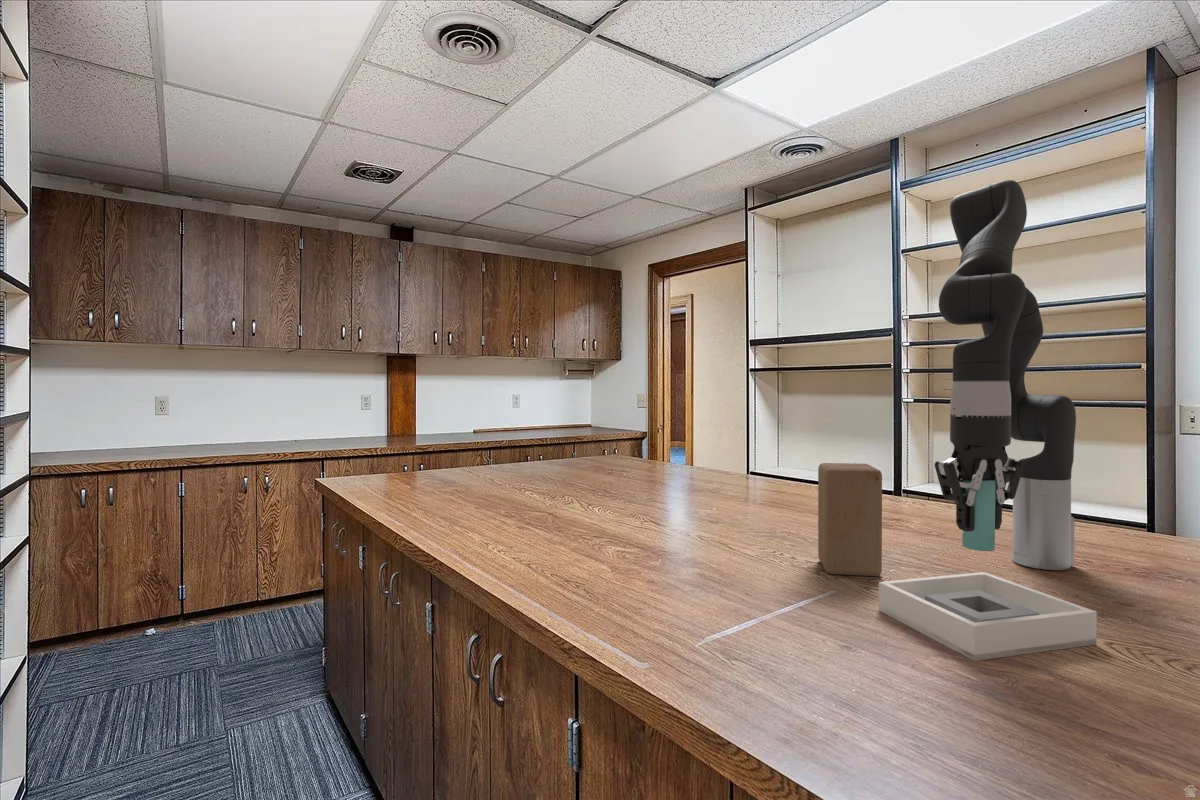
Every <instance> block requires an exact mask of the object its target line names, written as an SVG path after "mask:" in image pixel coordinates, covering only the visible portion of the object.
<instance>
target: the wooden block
mask: <svg viewBox="0 0 1200 800" xmlns="http://www.w3.org/2000/svg"><path fill="white" fill-rule="evenodd" d="M817 470H818V473H817V475H818V477H817V483H818V484H817V485H818V486H817V488H818V489H817V490H818V491H817V494H818V495H817V499H818V500H817V501H818V503H817V504H818V509H817V512H818V513H817V516H818V517H817V518H818V519H817V521H818V522H817V525H818V527H817V531H818V534H817V535H818V536H817V540H818V541H817V543H818V545H817V549H818V552H817V557H818V560H819V561H820V563H821V565H822V567H823V569H824V570H825V572H826V573H828V574H830V575H838V576H839V575H844V576H861V577H863V576H864V577H878V576H881V574H882V571H883V561H882V560H883V559H882V558H883V504H882V503H883V474H882V471H881V470H880V469H878V468H876V467H874V466H872V465H870V464H869V463H857V462H856V463H851V462H850V463H849V462H848V463H847V462H846V463H845V462H844V463H843V462H841V463H840V462H823V463H819V466H818V468H817Z"/></svg>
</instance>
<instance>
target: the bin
mask: <svg viewBox="0 0 1200 800" xmlns="http://www.w3.org/2000/svg"><path fill="white" fill-rule="evenodd" d="M878 611H879V612H881V613H883V614H885V615H887V616H889V617H891V618H893V619H894V620H895V621H898V622H900V623H902V624H904V625H905V626H907V627H909V628H911V629H913V630H915V631H916V632H918V633H921V634H922V635H924V636H926V637H928V638H930V639H932V640H934V641H935V642H938V643H939V644H941V645H944V646H945V647H947V648H949V649H950V650H952V651H954V652H957V653H958V654H960V655H962V656H963V657H966V658H968V659H970V660H971V661H973V662H977V661H978V662H979V661H984V660H985V661H986V660H991V659H999V658H1006V657H1007V658H1008V657H1014V656H1022V655H1028V654H1037V653H1043V652H1044V651H1045V652H1051V651H1050V650H1052V651H1059V650H1065V649H1072V648H1080V647H1088V646H1095V645H1097V621H1098V620H1097V614H1098V613H1097V612H1098V611H1096V610H1093V609H1090V608H1087V607H1085V606H1082V605H1078V604H1076V603H1072V602H1070V601H1067V600H1065V599H1061V598H1059V597H1055V596H1054V595H1051V594H1047V593H1044V592H1042V591H1038V590H1036V589H1033V588H1030V587H1027V586H1024V585H1021V584H1019V583H1017V582H1014V581H1010V580H1008V579H1005V578H1001V577H999V576H997V575H996V576H995V575H993V574H991V573H987V572H984V571H981V572H971V573H970V572H969V573H962V574H961V573H959V574H950V575H949V574H948V575H939V576H929V577H918V578H917V577H916V578H907V579H896V580H887V581H879V582H878ZM1058 649H1059V650H1058Z"/></svg>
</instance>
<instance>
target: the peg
mask: <svg viewBox="0 0 1200 800" xmlns="http://www.w3.org/2000/svg"><path fill="white" fill-rule="evenodd" d="M963 481H964V483H970V482H971V481H968V480H964V479H963ZM995 486H996V481H994V480H987V481H982V482H981V486H980V489H979V490H978V491H977V492H976V494H975V499H974V503H973V505H972V506H974V531H969V532H968V531H964V530H962V547H963V548H965V549H969V550H972V551H980V552H994V551H995V549H996V530H995ZM966 491H967V489H966V488H965V490H964V496H965V495H966Z"/></svg>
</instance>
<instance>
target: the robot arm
mask: <svg viewBox="0 0 1200 800" xmlns="http://www.w3.org/2000/svg"><path fill="white" fill-rule="evenodd" d="M1027 208H1028V207H1027V203H1026V197H1025V195H1024V191H1023V189H1022V186H1021V185H1020V184H1019V183H1018V182H1017V181H1016V180H1014V179H1013V180H1012V179H1004V180H1000V181H997V182H994V183H992V184H988V185H984V186H980V187H979V188H975V189H973V190H969V191H967V192H964V193H962V194H961V193H960V194H958V195H956V196H954V197H952V199H951V202H950V204H949V215H950V219H951V225H952V227H953V231H954V234H955V237H956V240H957V243H958V245H959V248H960V251H961V255H960V260H959V266H958V268H957V269H956V270H955V271H954V272H953V273H952V274H951V275H950V276H949V277H948V279H947V280H946V281H945V283H944V284H943V286H942V288H941V291H940V294H939V297H938V298H939V299H938V308H939V309H938V310H939V313H940V315H941V318H943V319H944V320H945V321H946V322H948V323H950V324H951V325H957V326H963V325H981V328H982V331H983V336H982V337H979V338H975V339H971V340H970V339H969V340H965V341H961V342H959V343H957V344H956V345H955V346H954V347H953V350H952V386H951V392H950V404H949V405H950V406H949V407H950V410H949V411H950V412H949V413H950V414H949V415H950V416H949V441H950V443H952V445H953V451H952V454H951V456H950V458H948V459H946V460H937V461H935V462H934V469H935V471H936V476H937V479H938V482H939V486H940V490H941V494H942V497H943V499H945V500H947V501H951V502H953V503H955V513H956V514H955V516H956V517H955V523H956V525H957V527H958V529H959V530H961V531H963V530H964V531H968V532H969V531H974V506H972V505H973V503H974V499H975V494H976V492H977V491H978V490H979V489H980V486H981V482H982V481H987V480H994V481H996V486H995V531H996V530H1000V529H1001V525H1002V524H1003V523H1002V522H1003V516H1002V515H1003V505H1004V504H1005V501H1008V500H1012V541H1011V542H1012V548H1011V549H1012V551H1011V552H1012V553H1011V554H1012V556H1011V558H1012V561H1013V562H1014V563H1016V564H1018V565H1021V566H1023V567H1028V568H1033V569H1039V570H1046V571H1047V570H1048V571H1049V570H1050V571H1066V570H1070V569H1071V567H1075V528H1076V527H1075V524H1076V522H1075V517H1073V516H1072V471H1073V464H1074V456H1075V451H1074V450H1075V440H1076V439H1075V437H1076V427H1077V415H1076V414H1077V413H1076V406H1075V404H1074V402H1073V400H1072V399H1071V398H1070V397H1068V396H1066V395H1058V394H1057V395H1054V394H1049V395H1047V394H1029V393H1028V392H1027V389H1026V386H1025V384H1026V383H1025V373H1026V371H1027V368H1028V366H1029V364H1030V362H1031V360H1032V358H1033V356H1034V355H1035V353H1036V351H1037V349H1038V348H1039V346H1040V343H1041V341H1042V339H1043V338H1042V337H1043V336H1044V325H1043V320H1042V315H1041V311H1040V308H1039V304H1038V300H1037V298H1036V296H1035V294H1033V293H1032V291H1030V290H1029V288H1028V287H1026V283H1024V281H1023V279H1022V278H1021V277H1020V276H1019V275H1018V274H1016V273H1014V272H1013V273H1012V271H1013V255H1014V250H1015V247H1016V245H1017V244H1018V241H1019V239H1020V238H1021V235H1022V233H1023V230H1024V227H1025V225H1026V223H1027V216H1028V209H1027ZM1012 439H1013V440H1017V441H1022V442H1032V443H1033V442H1036V443H1044V444H1043V445H1044V446H1043V449H1042V451H1041V452H1039V453H1038V454H1036V455H1033V456H1031V457H1024V458H1021V459H1015V458H1012V457H1009V456H1008V453H1007V451H1006V447H1008V446H1009V445H1011V443H1012ZM963 479H964V480H968V481H971V482H970V483H964V481H963ZM1007 483H1008V485H1007ZM1006 485H1007V489H1006ZM965 488H966V489H967V491H966V495H965V496H964V490H965Z"/></svg>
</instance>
